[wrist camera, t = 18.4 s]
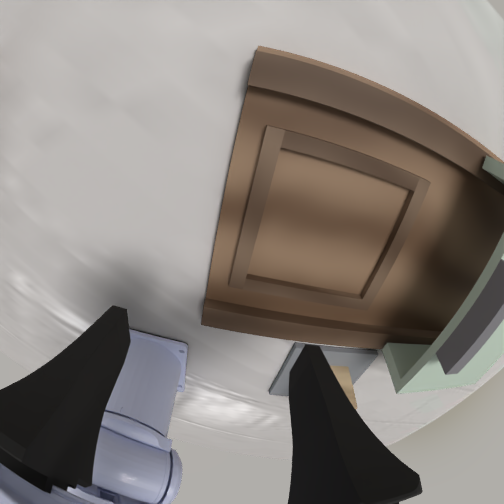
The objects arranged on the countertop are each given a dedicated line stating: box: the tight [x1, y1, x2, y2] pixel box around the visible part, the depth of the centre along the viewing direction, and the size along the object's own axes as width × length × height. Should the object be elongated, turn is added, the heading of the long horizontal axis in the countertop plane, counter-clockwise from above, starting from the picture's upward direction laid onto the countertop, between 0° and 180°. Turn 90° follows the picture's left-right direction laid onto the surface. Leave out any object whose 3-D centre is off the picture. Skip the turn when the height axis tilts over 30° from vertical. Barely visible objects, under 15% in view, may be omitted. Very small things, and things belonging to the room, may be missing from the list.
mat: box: [269, 343, 378, 396], centre depth 27 cm, size 9×9×1 cm
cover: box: [382, 156, 504, 394], centre depth 15 cm, size 18×12×7 cm, turn 167°
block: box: [330, 366, 357, 410], centre depth 24 cm, size 4×4×5 cm
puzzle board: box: [201, 46, 504, 349], centre depth 18 cm, size 20×30×2 cm, turn 77°
